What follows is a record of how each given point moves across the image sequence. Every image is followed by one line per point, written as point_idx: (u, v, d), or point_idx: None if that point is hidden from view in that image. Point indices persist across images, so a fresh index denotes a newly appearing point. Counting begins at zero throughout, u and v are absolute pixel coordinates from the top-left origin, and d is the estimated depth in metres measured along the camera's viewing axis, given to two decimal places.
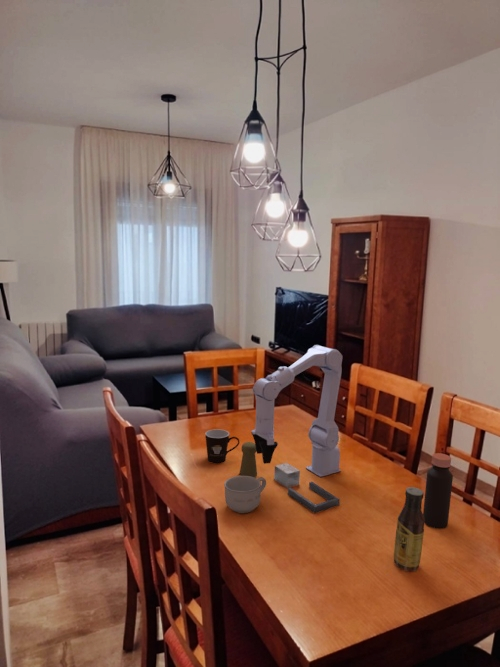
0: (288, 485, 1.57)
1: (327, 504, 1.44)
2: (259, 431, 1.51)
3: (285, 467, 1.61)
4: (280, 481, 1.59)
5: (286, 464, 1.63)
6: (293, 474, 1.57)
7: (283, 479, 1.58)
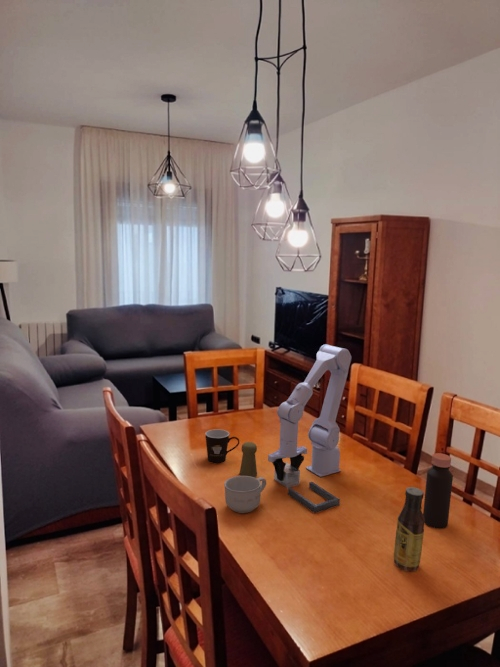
0: (288, 485, 1.57)
1: (327, 504, 1.44)
2: None
3: (285, 466, 1.61)
4: (280, 481, 1.59)
5: (286, 464, 1.63)
6: (294, 474, 1.57)
7: (283, 478, 1.58)
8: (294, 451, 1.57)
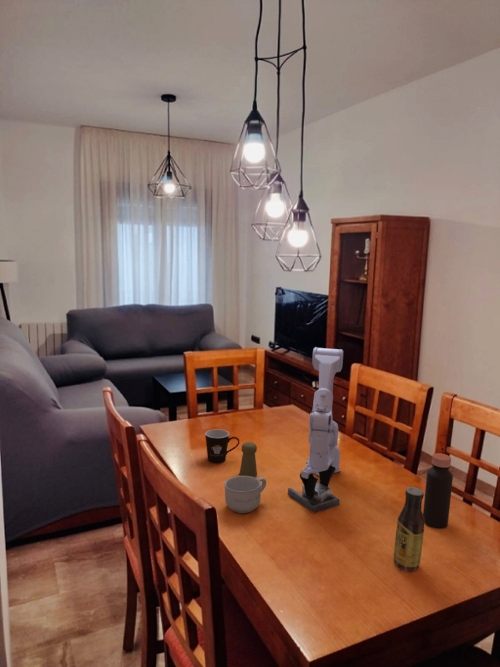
0: None
1: (327, 504, 1.44)
2: (309, 462, 1.46)
3: None
4: None
5: None
6: (326, 493, 1.46)
7: (314, 499, 1.45)
8: (327, 463, 1.45)
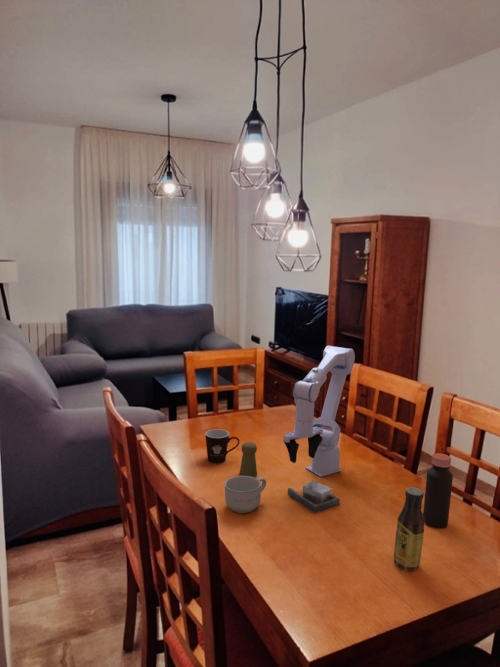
0: None
1: (327, 504, 1.44)
2: (294, 429, 1.55)
3: (315, 485, 1.48)
4: None
5: (313, 482, 1.50)
6: (326, 493, 1.45)
7: (315, 499, 1.45)
8: (310, 431, 1.53)
